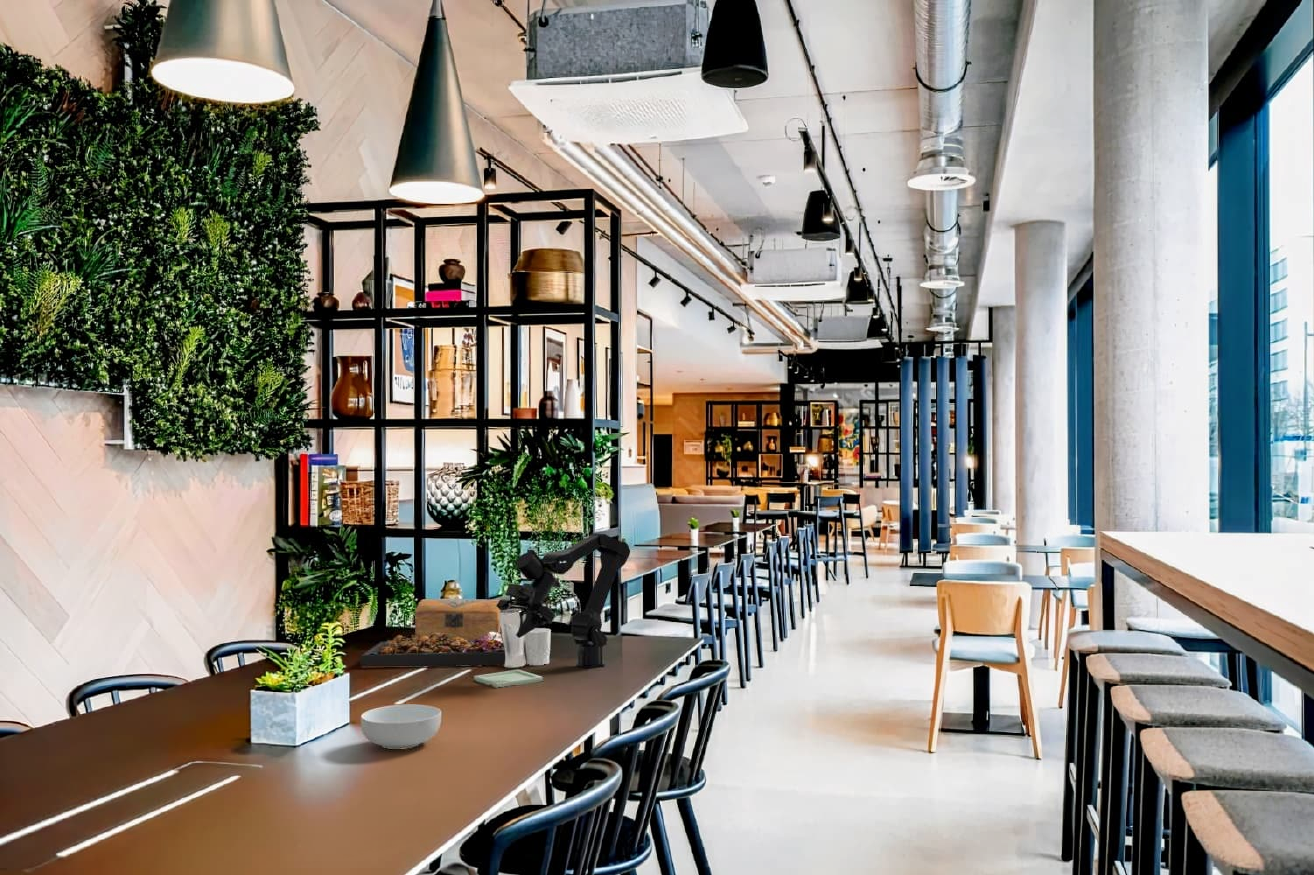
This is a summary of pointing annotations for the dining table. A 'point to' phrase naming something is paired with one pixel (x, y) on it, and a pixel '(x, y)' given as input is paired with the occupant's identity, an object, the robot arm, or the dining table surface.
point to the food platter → (436, 651)
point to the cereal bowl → (400, 725)
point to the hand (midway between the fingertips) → (509, 635)
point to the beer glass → (512, 637)
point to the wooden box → (457, 617)
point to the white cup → (538, 646)
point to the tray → (508, 678)
